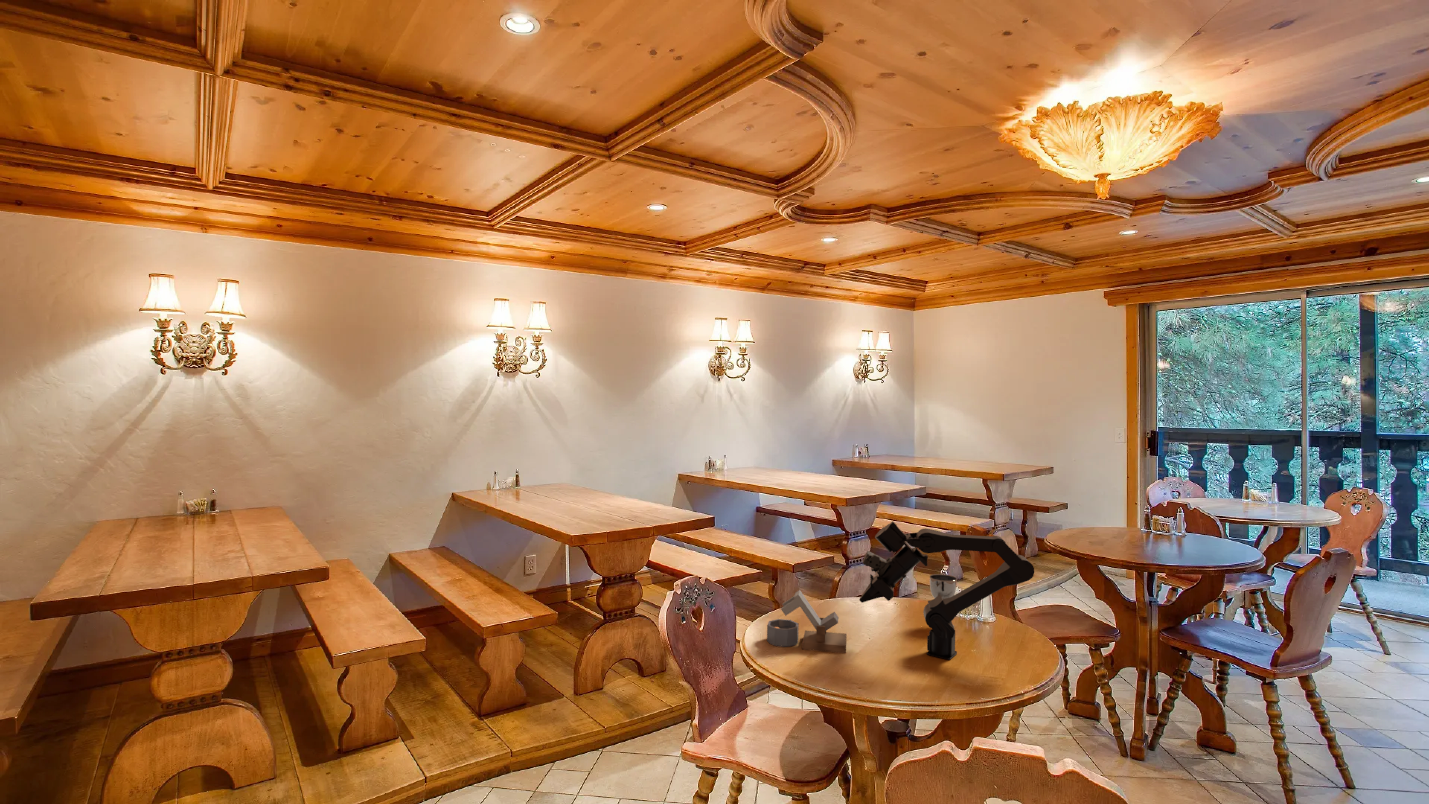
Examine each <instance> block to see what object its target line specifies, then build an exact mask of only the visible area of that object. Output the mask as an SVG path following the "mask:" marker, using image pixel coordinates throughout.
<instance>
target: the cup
mask: <svg viewBox="0 0 1429 804" xmlns="http://www.w3.org/2000/svg"><path fill="white" fill-rule="evenodd" d="M799 625H800V624H799V623H798V622H796V621H794V620H792V619H784V618H783V619H782V618H777V619H772V620H768V622H767V625H766V627H767V628H766V641H767V642H768V644H770V645H772V646H775V647H779V648H787V647H790V648H791V647H794V646H796V645H797V644H799V627H800V626H799ZM775 627H779V628H775Z"/></svg>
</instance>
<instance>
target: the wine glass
mask: <svg viewBox="0 0 1429 804" xmlns="http://www.w3.org/2000/svg"><path fill="white" fill-rule="evenodd" d="M957 581H958V578H957V576H954V575H950V574H944V573H934V574H933V573H932V574H931V575H929V589H930V593H931V596H932V597H933V599H935V598H936V597H937V596H938V595H941V596H942V599H945V598H950V597H952V596H954V595H956V591H957V586H958V585H957ZM953 626H954V627H955V625H954V624H953Z"/></svg>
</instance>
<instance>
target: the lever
mask: <svg viewBox="0 0 1429 804" xmlns="http://www.w3.org/2000/svg"><path fill="white" fill-rule="evenodd" d="M798 608H800V609H801V610H802V612H803V614H805V616H806V617H807V619H808V620H809V621H810V623H811V625H813V627H814V629H815V630H817V625H819V626H825V631H826V632H828V630H830V629H831V628H833V627H835V626H836V625H837V624H839V619H840V618H839V616H838V614H837V613H836V611H833V612H832V613H830V614H828V615H826V617H823V618H824V619H822V620H821V619H820V618H821V617H819V615H818V614H817V612H816V610H815V609H814V608H813V606H812V605H811V604H810V602H809V601H808V600H807V598H806V596H805V595H804V594H803V592H802V591H801V589H799V590H797V591H795V592H794V595H793V596H792V597H790V598H789V599H787V600H785V601H784V602H782V607H780V610H781V612H782V613H783V614H784V615H785V617H787V616H788V615H789V614H791V613H792V612H794V611H795V610H797V609H798Z"/></svg>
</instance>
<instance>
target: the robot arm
mask: <svg viewBox="0 0 1429 804" xmlns="http://www.w3.org/2000/svg"><path fill="white" fill-rule="evenodd" d="M874 538H875V539H876V540H877V541H878V542H879V543H880V544H881V545H882V546H883V548H885V550H887V551H888V552H889V553H891V552H892V553H896V554H894V555H893V556H892V557H891V556H889V557H887V559H885V558H883V557H882V556H880V555H878V554H875V553H873V552H871V551H870V550H867V551H866V552H865V556H864V557H863V559H862V564H863V565H864V566H865V567H869V568H870V570H871V572H874V574H873V575H872V573H870V575H869V578H870V579H869V584H868V585H867V587H866V588H865V589H864V591H863V593H862V595H861V596H860V597H859V599H858V600H859V602H860V603H861V604H862V603H866V602H869V601H873V600H877V599H879V598H883V597H884V599H885V600H887V601H888V602H890V601H891V600H892V599H893V598H894V597H895V595H894V593H895V592H894V588H895V587H896V584H897V583H898V582H899V581H900V580H902V579H903V580H904V579H905V578H906V577H907V574H908V573H910V571H911V570H912V569H913V568H915V567H916V566H917V565H918V564H919V563H922V564H923V565H924V567H928V559H929V555H928V554H935V553H936V554H937V553H942V552H945V551H951V550H952V551H966V552H967V551H968V552H969V551H970V552H987V553H996V554H997V556H999V558H1001V559H1002V561H1003V563H1001V564H1000V566H999V567H998V568H997V570H996V571H994V572H993V573H991V574H989V575H988V576H986V577H984V578H982V579H980V580H979V581H977V582H975V583H974V584H972V585H970V586H968V587H966V588H965V589H963V590H961V591H959V592H958V593H955V595H954V596H952V597H950V598H945V599H942V596H941V595H938V596H937V597H936V598H933V599H931V600H927V604H926V605H924V608H923V611H922V613H923V618H924V621H925V623H926V625H927V626H928V627H929V628H931V629H930V630H929V631H928V632H929V633H928V635H927V639H926V641H927V642H926V643H927V644H926V646H927V647H926V650H927V652H926V655H927V656H932V657H936V658H940V659H944V660H949V661H951V660H952V659H953V657H955V656H956V655H957V654H958V651H956V629H955V625H954V624H953V622H952V621H953V620H955V618H956V617H957V615H959V614H960V612H962V611H964V610H966V609H968V608H970V607H972V606H973V605H976V604H977V603H978V602H980V601H982V600H984V599H985V598H987V597H989V596H991V595H992V594H994V593H996V592H998V591H1000V590H1002V589H1003V588H1006V587H1011V586H1017V585H1020V584H1022V583H1025V582H1029V581H1030V580H1032V579H1033V577H1034V576H1035V567H1034V565H1033V564H1032V563H1031V562H1030V560H1029V559H1027V557H1025V556H1024V555H1021V554H1017V553H1016V552H1015V551H1014V550H1013V549H1012V548H1011V547H1010V546H1009V545H1008V544H1007V543H1006V541H1005V540H1004V539H1003V538H1002V537H1001V536H1000V535H999V536H998V535H993V536H989V535H985V536H984V535H969V534H968V535H965V534H951V533H945V532H942V531H939V530H936V529H930V528H921V529H919V530H918V531H917V532H910V533H909V532H908V533H907V532H906V533H905V532H904V531H903V530H901V528H899V526H898V525H897V524H896V523H895V522H894V521H891V522H890V523H888V524H886V525H885V526H883V527H882V528H881V529H879V531H878V532H877V533H876V534H875V536H874ZM923 553H925V554H923ZM953 625H954V626H953Z"/></svg>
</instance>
